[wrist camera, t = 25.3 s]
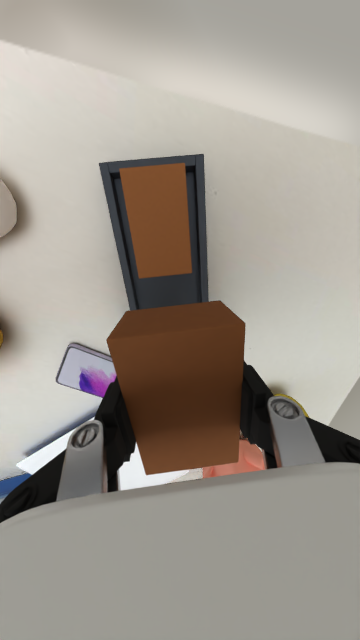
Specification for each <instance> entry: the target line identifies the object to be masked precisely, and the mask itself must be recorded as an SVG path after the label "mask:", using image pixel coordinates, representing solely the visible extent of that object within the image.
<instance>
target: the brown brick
mask: <svg viewBox="0 0 360 640" xmlns="http://www.w3.org/2000/svg"><path fill="white" fill-rule="evenodd" d="M244 343H245V323H244V322H243V321H242V320H241V319H240V318H239V317H238V316H237V315H236V314H234V313H233V312H232V311H231V310H230V309H229V308H228V307H227V306H226V305H225V304H223V303H222V302H221V301H211V302H202V303H193V304H185V305H176V306H167V307H158V308H149V309H141V310H132V311H126V312H125V314H124V315H123V317H122V318H121V320H120V321H119V322H118V324H117V325H116V327H115V328H114V330H113V331H112V332H111V334H110V335H109V337H108V338H107V344H108V347H109V351H110V354H111V358H112V361H113V365H114V368H115V371H116V375H117V378H118V382H119V385H120V388H121V392H122V395H123V398H124V401H125V404H126V408H127V411H128V415H129V418H130V422H131V425H132V428H133V432H134V435H135V439H136V443H137V446H138V450H139V453H140V457H141V460H142V464H143V467H144V470H145V474H146V475H153V474H160V473H167V472H174V471H181V470H188V469H195V468H202V467H209V466H216V465H223V464H230V463H237V462H238V459H239V439H240V411H241V391H242V381H243V362H244Z"/></svg>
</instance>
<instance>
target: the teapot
mask: <svg viewBox="0 0 360 640" xmlns="http://www.w3.org/2000/svg"><path fill="white" fill-rule="evenodd" d="M260 470H265V467H264V460H263V454H262V452H261V451H260V449H259V448H258V447H257V446H256V445H255V444H251V445H250V443H249V442H248V441H247V440H239V459H238V462H237V463H230V464H223V465H216V466H209V467H203V478H210V477H217V476H224V475H231V474H238V473H245V472H252V471H260ZM203 478H202V479H203Z"/></svg>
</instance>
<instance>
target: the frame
mask: <svg viewBox="0 0 360 640" xmlns="http://www.w3.org/2000/svg"><path fill="white" fill-rule="evenodd" d="M176 163H185V170H186V186H187V201H188V217H189V232H190V247H191V263H192V273H188V274H179V275H169V276H160V277H150V278H139V276H138V270H137V265H136V259H135V254H134V248H133V243H132V237H131V232H130V226H129V221H128V215H127V210H126V204H125V199H124V193H123V188H122V182H121V177H120V171H119V169H120V168H130V167H141V166H153V165H164V164H176ZM99 166H100V171H101V176H102V180H103V185H104V190H105V194H106V199H107V204H108V208H109V213H110V218H111V222H112V227H113V232H114V236H115V241H116V246H117V250H118V255H119V260H120V264H121V269H122V274H123V278H124V283H125V288H126V292H127V297H128V302H129V306H130V311H132V310H141V309H149V308H158V307H167V306H176V305H185V304H193V303H202V302H208V273H207V241H206V210H205V179H204V154H197V155H185V156H174V157H162V158H150V159H139V160H127V161H115V162H108V163H107V162H105V163H99Z"/></svg>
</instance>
